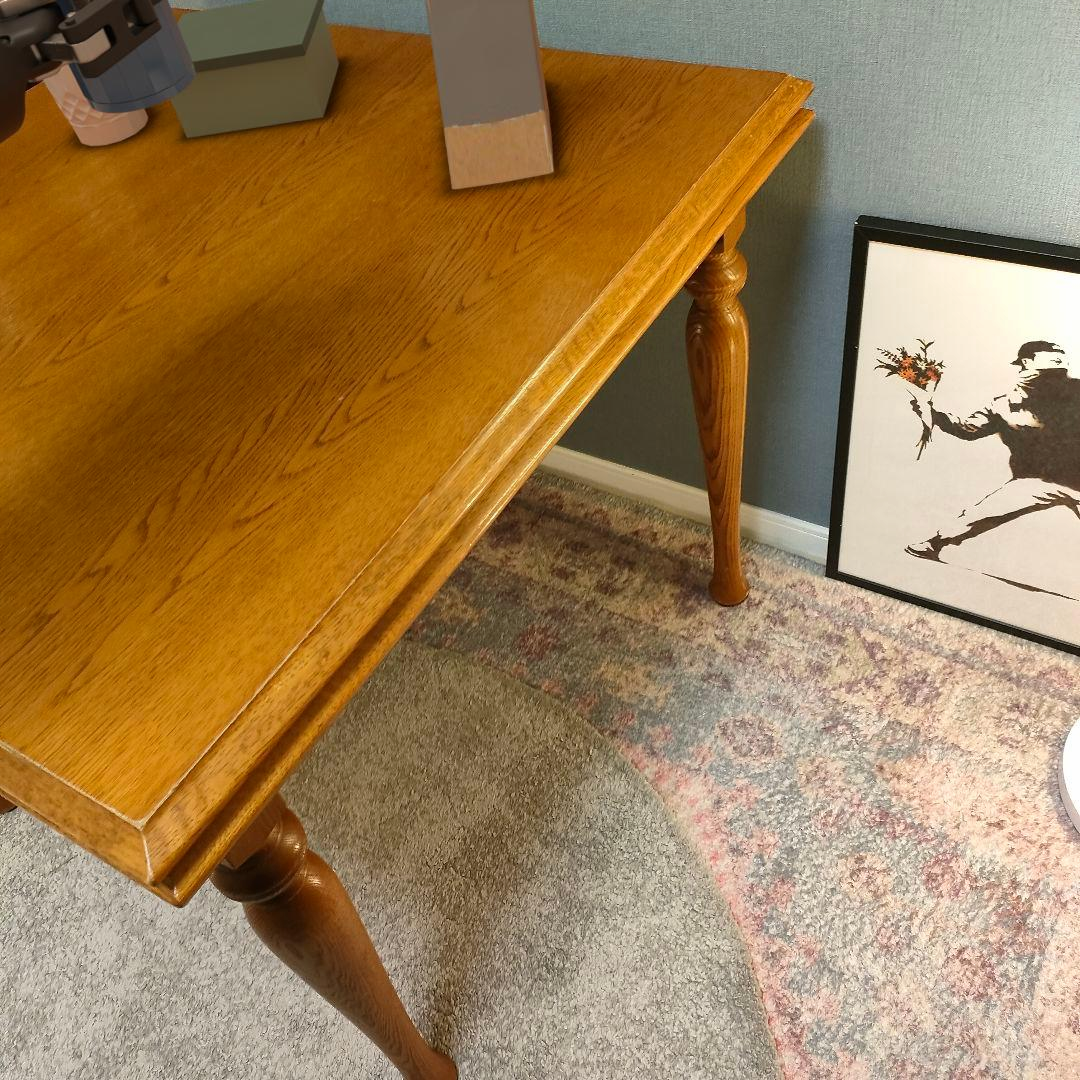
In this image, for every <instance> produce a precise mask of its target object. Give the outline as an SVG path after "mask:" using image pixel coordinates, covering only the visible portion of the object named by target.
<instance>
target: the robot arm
mask: <svg viewBox="0 0 1080 1080" xmlns="http://www.w3.org/2000/svg"><path fill="white" fill-rule="evenodd" d="M69 1H70V4H71V6H72V8H73V10H74V12H71V13H69V14H68V15H67V18H68V19H66V17H65V15H64V13H63V11H62V9H61V7H60V6H59V4H58V3H57V2H56V0H0V145H1V144H3V143H5V141H7V140H8V139H10V138H11V137H13V136H14V135H15V134H17V133H18V132H19V131H20V129H21V128H22V126H23V124H24V121H25V117H26V93H27V92H26V91H27V86H28V83H37V82H41V81H43V80H44V79H46V78H49V77H51V76H54V75H56V74H58V73H59V71H60V69H61V67H63V66H65V65H67V64H70V63H73V62H76V64H77V66H78V68H79V70H80V72H81V74H82V76H83V78H86V79H90V78H97V77H99V76H100V75H102V74H103V73H105V72H106V71H107V70H109V69H110V68H111V67H113V66H114V65H115V64H116V63H118V62H119V61H120V60H122V59H123V58H124V57H126V56H127V55H128V54H129V53H131V52H132V51H133V50H135V49H136V48H137V47H139V46H140V45H141V44H142V43H144V42H145V41H146V40H148V39H149V38H150V37H152V36H153V35H154V34H155V33H157V32H158V31H159V30H160V29H161V28H162V27H161V24H160V22H159V19H158V17H157V15H156V12H155V10H154V7H153V6H154V5H156V4H157V3H159V2H160V1H162V0H94V1H92V2H91V3H90V0H69Z"/></svg>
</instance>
